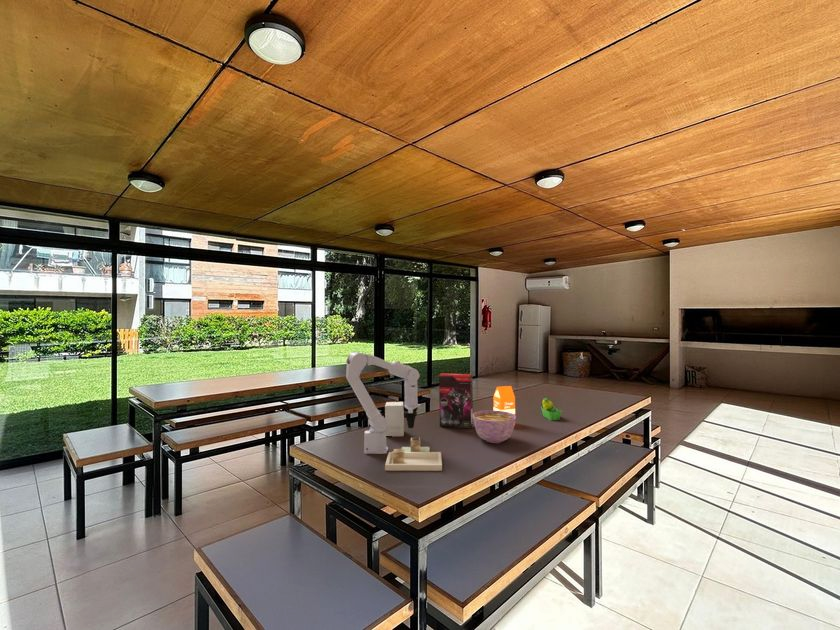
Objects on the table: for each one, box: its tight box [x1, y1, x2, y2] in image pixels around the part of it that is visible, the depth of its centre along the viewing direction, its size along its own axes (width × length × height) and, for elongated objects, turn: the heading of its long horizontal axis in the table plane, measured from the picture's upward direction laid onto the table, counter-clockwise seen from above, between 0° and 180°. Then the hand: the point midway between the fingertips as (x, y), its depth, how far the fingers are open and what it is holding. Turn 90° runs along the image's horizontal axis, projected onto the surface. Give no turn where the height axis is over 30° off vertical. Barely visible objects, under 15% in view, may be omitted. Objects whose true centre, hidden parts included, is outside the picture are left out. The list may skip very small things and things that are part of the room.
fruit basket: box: [540, 397, 563, 421], centre depth 223 cm, size 11×9×11 cm
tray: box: [384, 451, 443, 472], centre depth 154 cm, size 21×14×2 cm, turn 89°
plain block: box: [392, 448, 404, 464], centre depth 154 cm, size 4×4×5 cm
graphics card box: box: [438, 372, 474, 429], centre depth 207 cm, size 17×7×27 cm, turn 73°
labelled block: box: [410, 437, 421, 452], centre depth 168 cm, size 4×4×5 cm
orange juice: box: [492, 385, 516, 416], centre depth 211 cm, size 8×9×20 cm
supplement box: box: [384, 401, 405, 437], centre depth 194 cm, size 9×9×15 cm
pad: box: [401, 446, 431, 452], centre depth 168 cm, size 12×10×1 cm
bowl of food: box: [472, 409, 517, 444], centre depth 183 cm, size 20×20×12 cm
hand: (411, 425), depth 175 cm, fingers open, 7 cm apart
